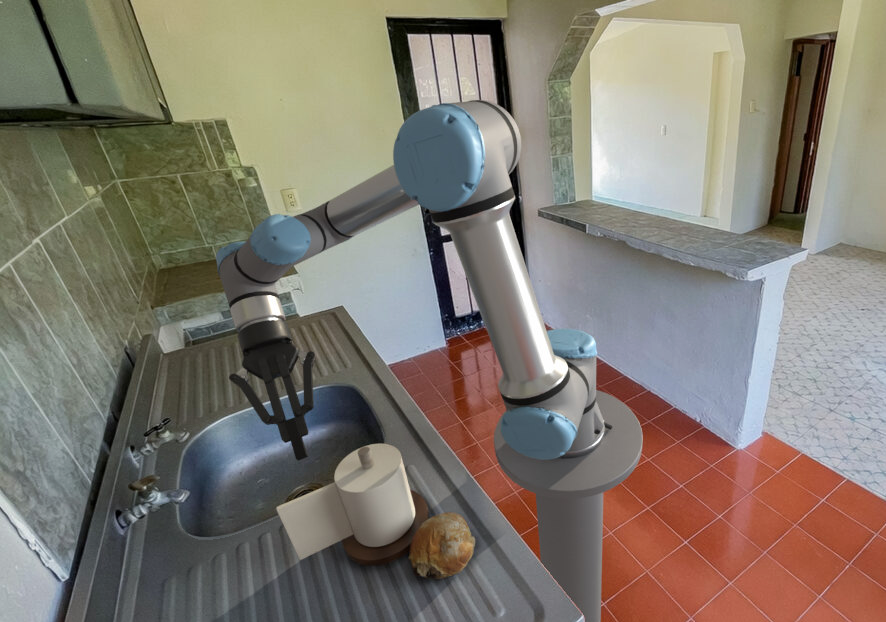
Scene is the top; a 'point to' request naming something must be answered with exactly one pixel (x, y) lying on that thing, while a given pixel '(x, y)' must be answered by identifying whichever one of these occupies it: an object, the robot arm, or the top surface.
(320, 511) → the paper towel roll
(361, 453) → the towel holder
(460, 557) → the bread roll
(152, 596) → the top surface
